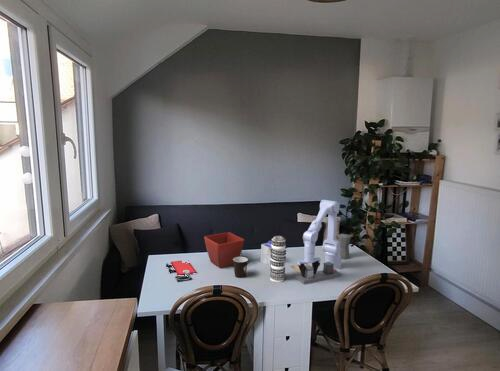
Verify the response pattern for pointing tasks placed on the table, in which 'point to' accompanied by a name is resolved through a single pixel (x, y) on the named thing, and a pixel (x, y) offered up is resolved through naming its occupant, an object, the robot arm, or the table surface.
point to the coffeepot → (345, 244)
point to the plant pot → (223, 248)
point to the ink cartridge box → (266, 253)
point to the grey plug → (309, 272)
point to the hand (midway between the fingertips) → (308, 275)
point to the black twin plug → (328, 268)
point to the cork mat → (297, 267)
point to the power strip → (318, 277)
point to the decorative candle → (277, 259)
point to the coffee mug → (240, 266)
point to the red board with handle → (182, 270)
